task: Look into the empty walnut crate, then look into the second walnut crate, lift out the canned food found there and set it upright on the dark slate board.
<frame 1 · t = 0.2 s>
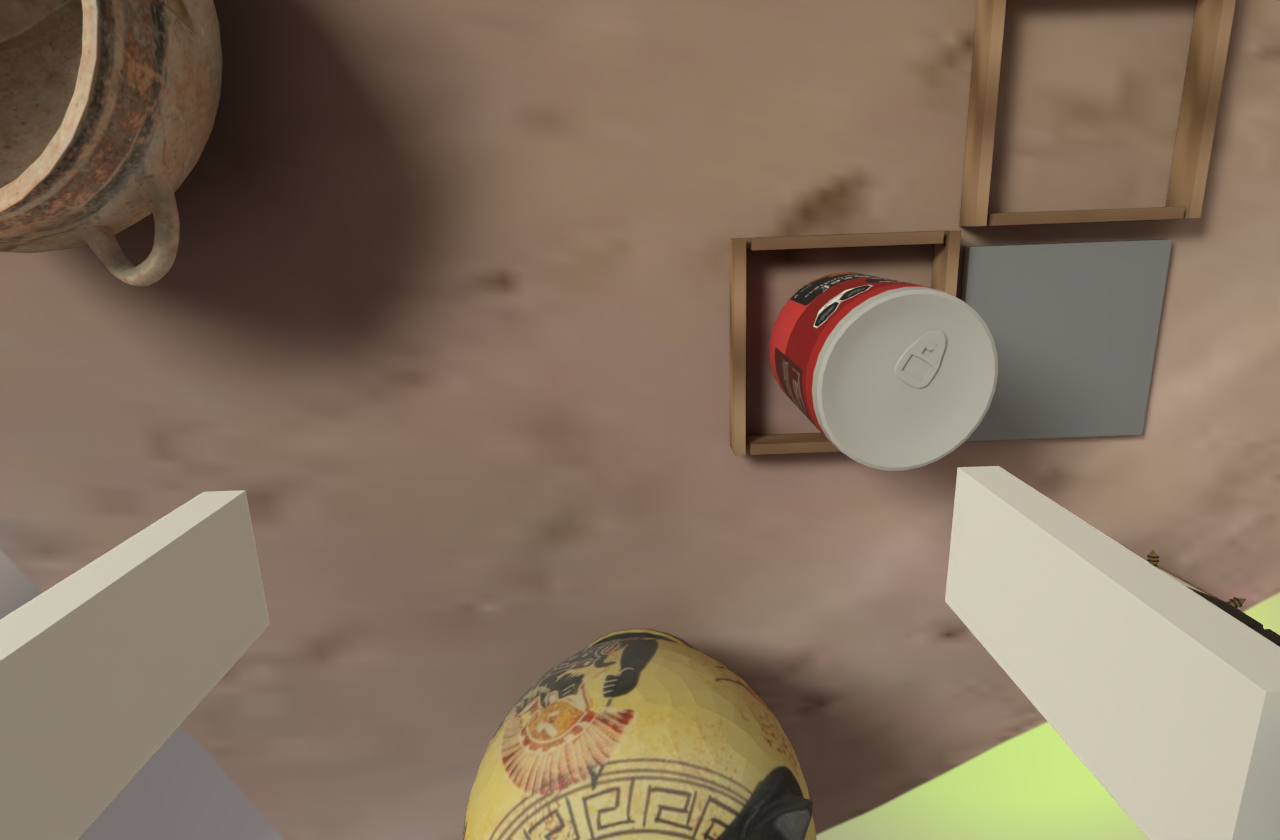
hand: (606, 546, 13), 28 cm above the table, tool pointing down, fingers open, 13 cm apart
empty crate: (1080, 105, 37), on the table
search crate: (834, 342, 41), on the table
game die: (1107, 597, 45), on the table
canned food: (833, 341, 41), resting in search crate
slate board: (1053, 342, 41), on the table
amphora: (636, 686, 46), on the table
cooking pot: (94, 55, 36), on the table
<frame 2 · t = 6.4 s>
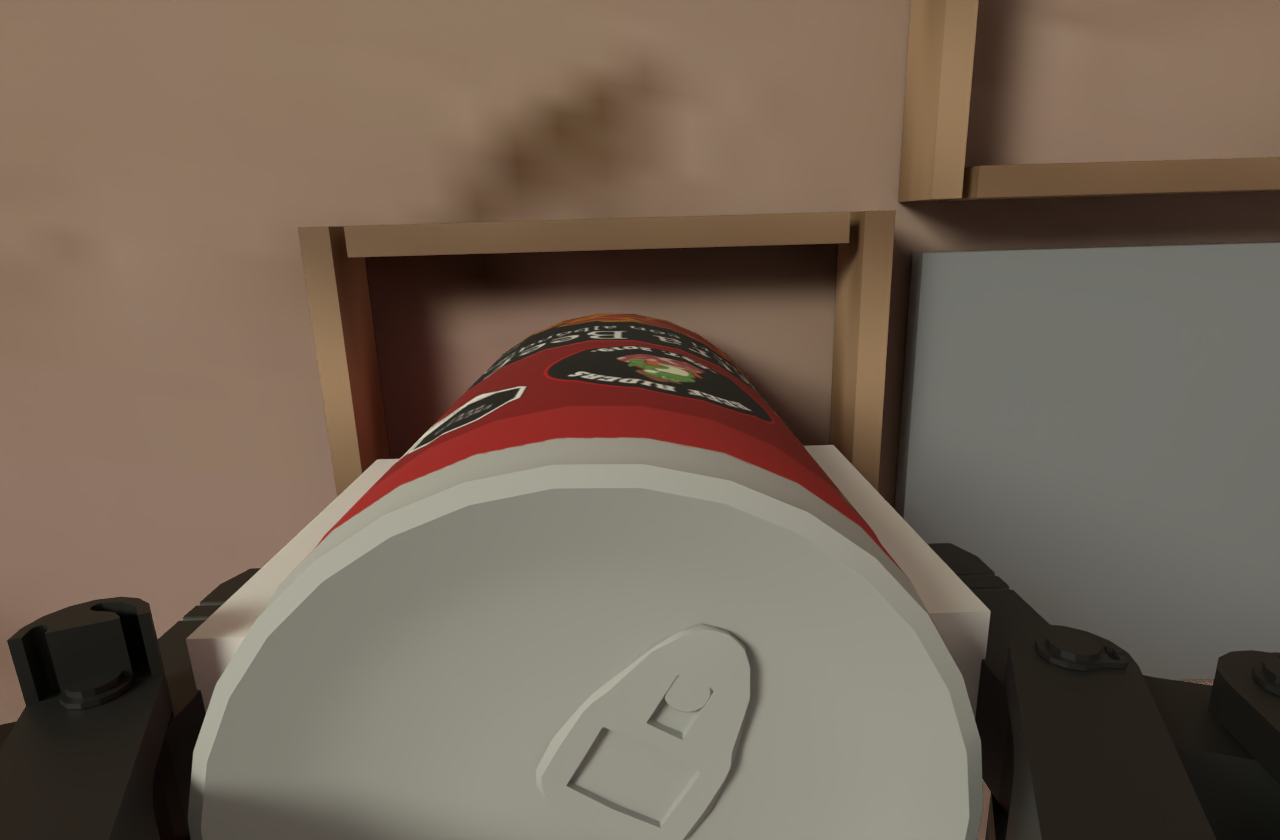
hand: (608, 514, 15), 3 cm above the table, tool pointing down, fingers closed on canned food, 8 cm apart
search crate: (611, 471, 17), on the table
canned food: (611, 468, 18), resting in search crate, touching gripper
slate board: (1118, 474, 18), on the table
when the fingers open (4 cm above the table, at t = 12.6 s): canned food stays where it is, resting on slate board.
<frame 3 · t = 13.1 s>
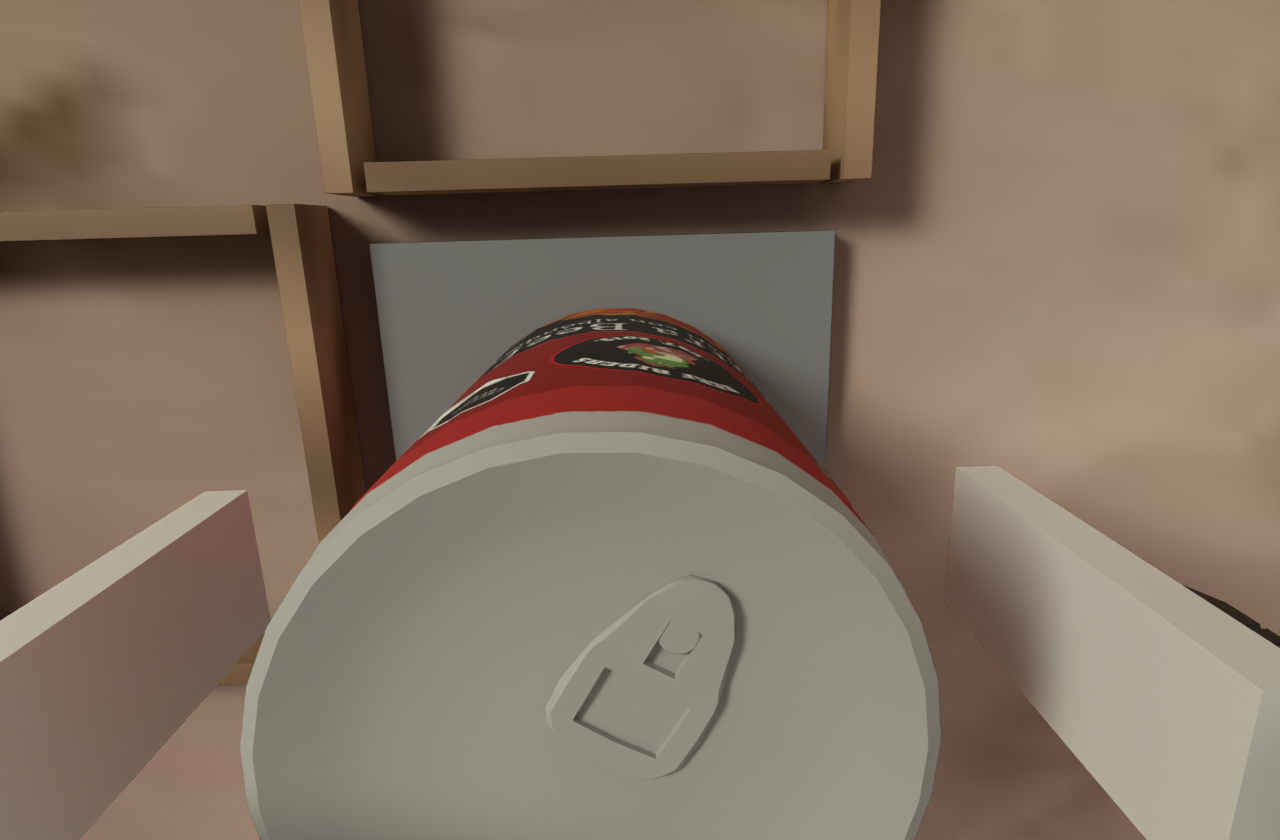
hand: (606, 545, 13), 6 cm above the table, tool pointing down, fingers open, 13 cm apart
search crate: (132, 448, 19), on the table
canned food: (613, 455, 19), resting on slate board
slate board: (612, 451, 19), on the table
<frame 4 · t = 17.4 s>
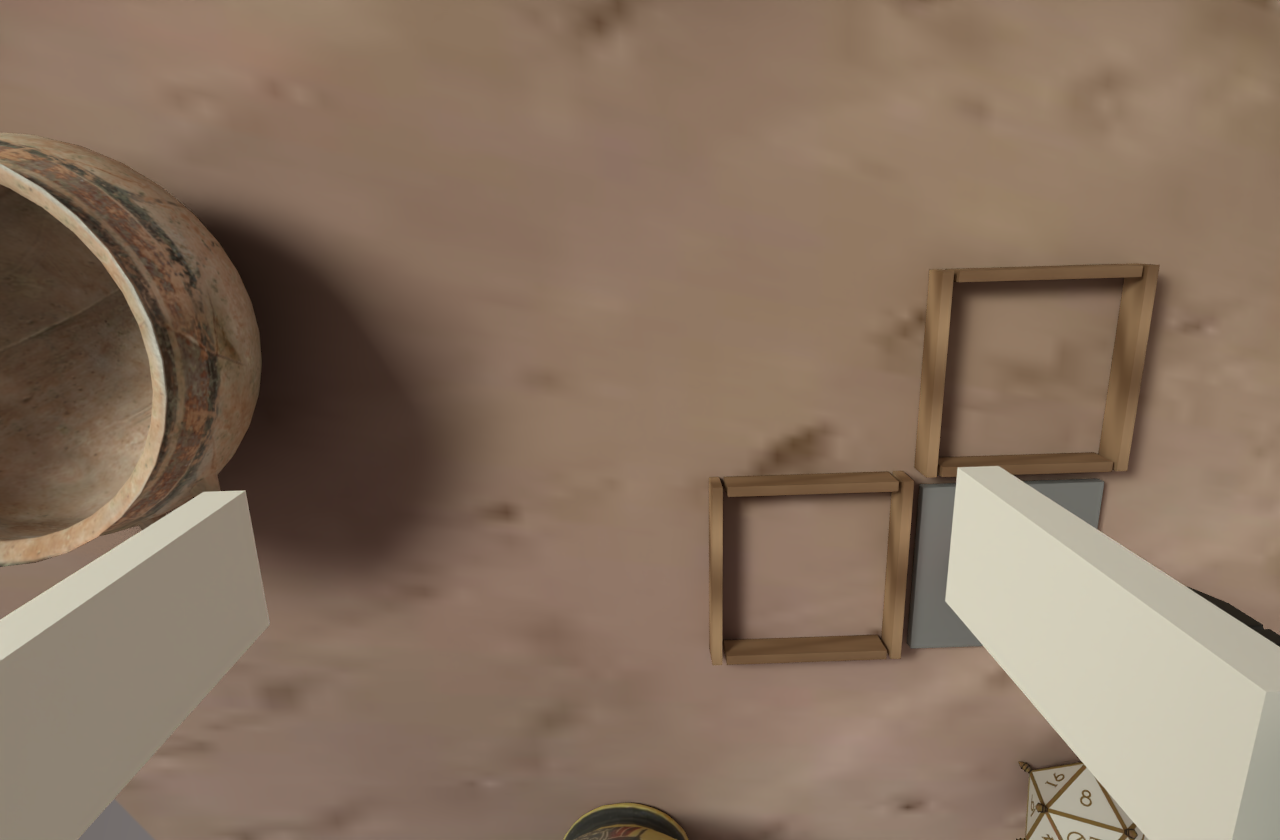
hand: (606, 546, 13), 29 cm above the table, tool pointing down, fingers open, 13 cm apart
empty crate: (1021, 369, 42), on the table
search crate: (802, 562, 45), on the table
game die: (1051, 775, 50), on the table
slate board: (999, 563, 45), on the table
cooking pot: (143, 326, 41), on the table
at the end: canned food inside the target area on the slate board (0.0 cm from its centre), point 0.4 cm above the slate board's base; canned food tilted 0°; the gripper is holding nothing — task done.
